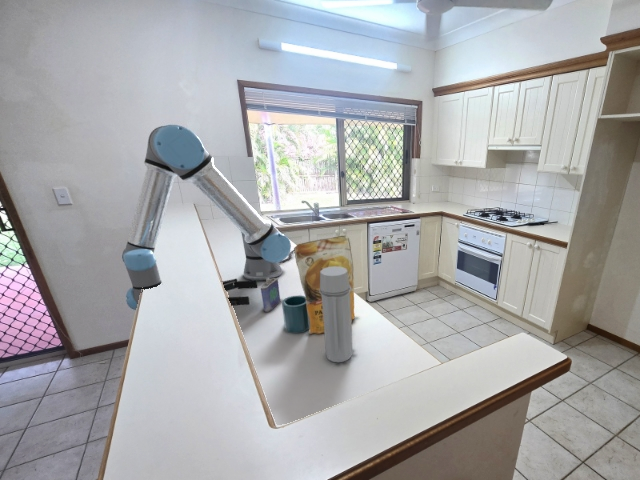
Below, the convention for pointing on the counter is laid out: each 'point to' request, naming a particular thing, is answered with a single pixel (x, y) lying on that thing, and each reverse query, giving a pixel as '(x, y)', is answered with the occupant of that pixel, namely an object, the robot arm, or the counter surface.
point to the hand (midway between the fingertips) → (253, 291)
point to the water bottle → (336, 313)
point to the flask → (270, 294)
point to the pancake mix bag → (310, 264)
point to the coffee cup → (295, 314)
